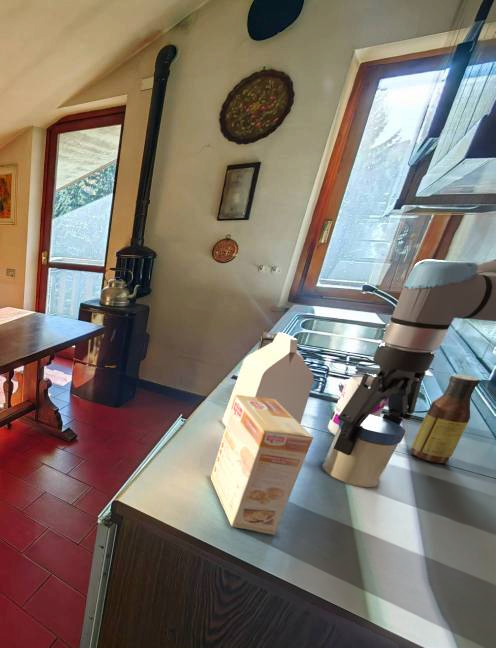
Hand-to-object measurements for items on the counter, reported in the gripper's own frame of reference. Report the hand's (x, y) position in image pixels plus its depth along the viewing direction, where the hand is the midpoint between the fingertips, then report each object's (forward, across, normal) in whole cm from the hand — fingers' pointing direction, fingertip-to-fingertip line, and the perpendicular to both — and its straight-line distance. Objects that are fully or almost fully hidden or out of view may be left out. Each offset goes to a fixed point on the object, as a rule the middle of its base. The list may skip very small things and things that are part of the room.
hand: (361, 447), depth 81 cm
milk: (+7, +5, -18) cm, 20 cm away
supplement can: (+7, -19, -12) cm, 24 cm away
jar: (+7, 0, 0) cm, 7 cm away
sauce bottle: (+7, -26, 0) cm, 27 cm away
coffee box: (+7, -30, -46) cm, 56 cm away
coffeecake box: (+7, +32, +1) cm, 32 cm away
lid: (-5, 0, 0) cm, 5 cm away
